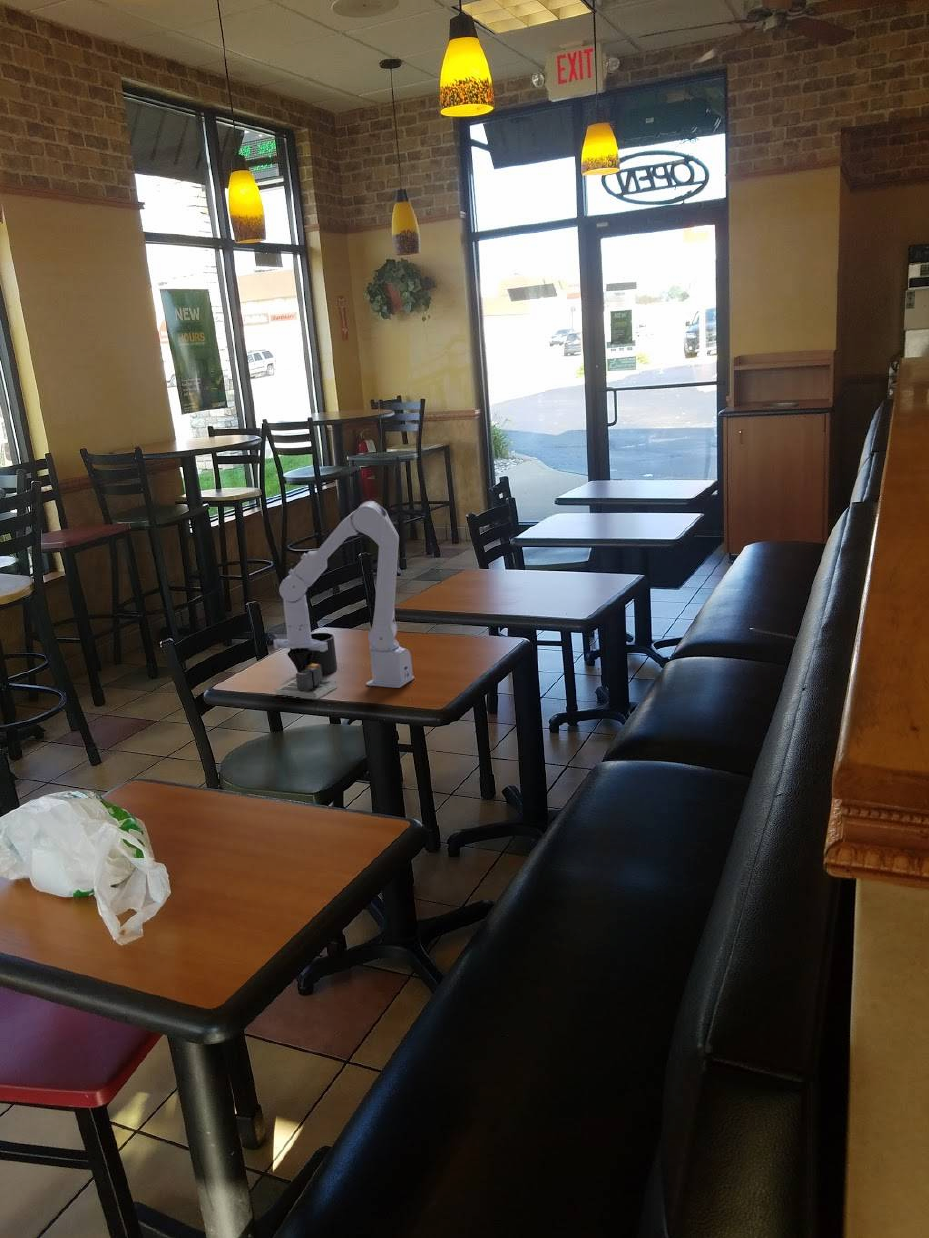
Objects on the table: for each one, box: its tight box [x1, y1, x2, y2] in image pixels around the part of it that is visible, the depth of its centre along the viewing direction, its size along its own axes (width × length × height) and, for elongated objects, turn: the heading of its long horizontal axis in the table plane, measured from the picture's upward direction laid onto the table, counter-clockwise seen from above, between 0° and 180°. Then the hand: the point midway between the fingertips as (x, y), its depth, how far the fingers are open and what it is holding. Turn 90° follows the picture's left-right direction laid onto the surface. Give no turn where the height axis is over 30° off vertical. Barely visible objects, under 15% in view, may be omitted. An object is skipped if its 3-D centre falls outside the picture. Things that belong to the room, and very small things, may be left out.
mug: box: [311, 632, 338, 677], centre depth 249 cm, size 9×12×9 cm
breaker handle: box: [306, 664, 324, 682], centre depth 234 cm, size 3×2×4 cm
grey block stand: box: [274, 667, 338, 700], centre depth 232 cm, size 12×9×6 cm
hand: (304, 677), depth 236 cm, fingers closed
